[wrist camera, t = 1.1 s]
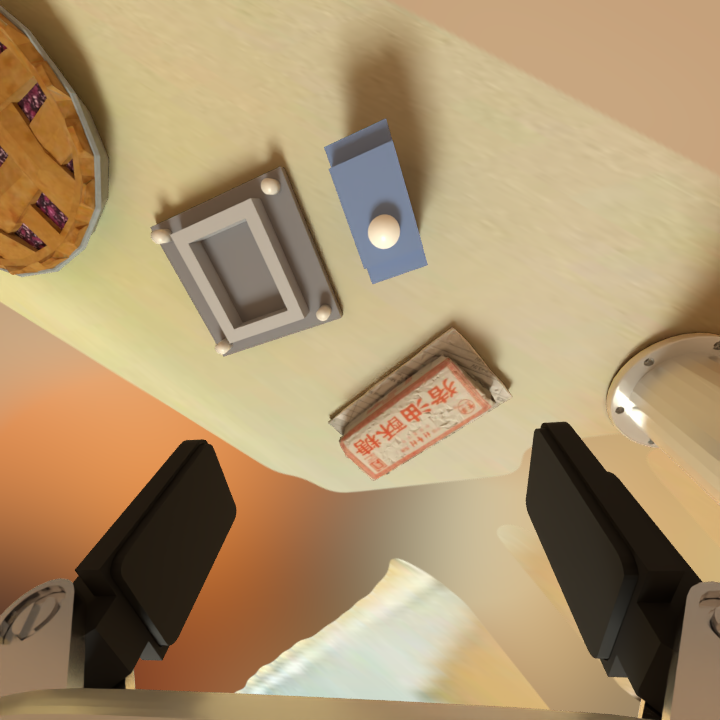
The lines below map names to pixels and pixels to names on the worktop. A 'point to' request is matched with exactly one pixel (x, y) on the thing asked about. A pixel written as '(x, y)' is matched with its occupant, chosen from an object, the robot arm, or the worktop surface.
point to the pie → (44, 159)
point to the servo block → (376, 202)
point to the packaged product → (418, 405)
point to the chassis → (250, 264)
